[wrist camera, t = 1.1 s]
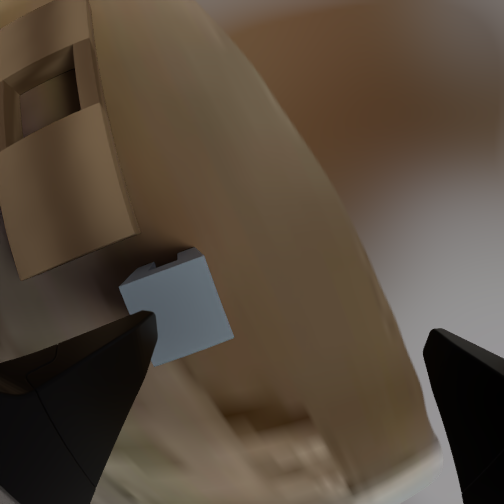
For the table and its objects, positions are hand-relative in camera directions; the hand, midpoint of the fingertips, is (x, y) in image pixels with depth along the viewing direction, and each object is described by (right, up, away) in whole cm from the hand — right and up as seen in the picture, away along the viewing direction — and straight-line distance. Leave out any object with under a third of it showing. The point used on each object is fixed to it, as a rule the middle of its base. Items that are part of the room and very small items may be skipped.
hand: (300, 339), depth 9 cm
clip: (-6, 0, +10) cm, 12 cm away
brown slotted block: (-15, +12, +7) cm, 21 cm away
